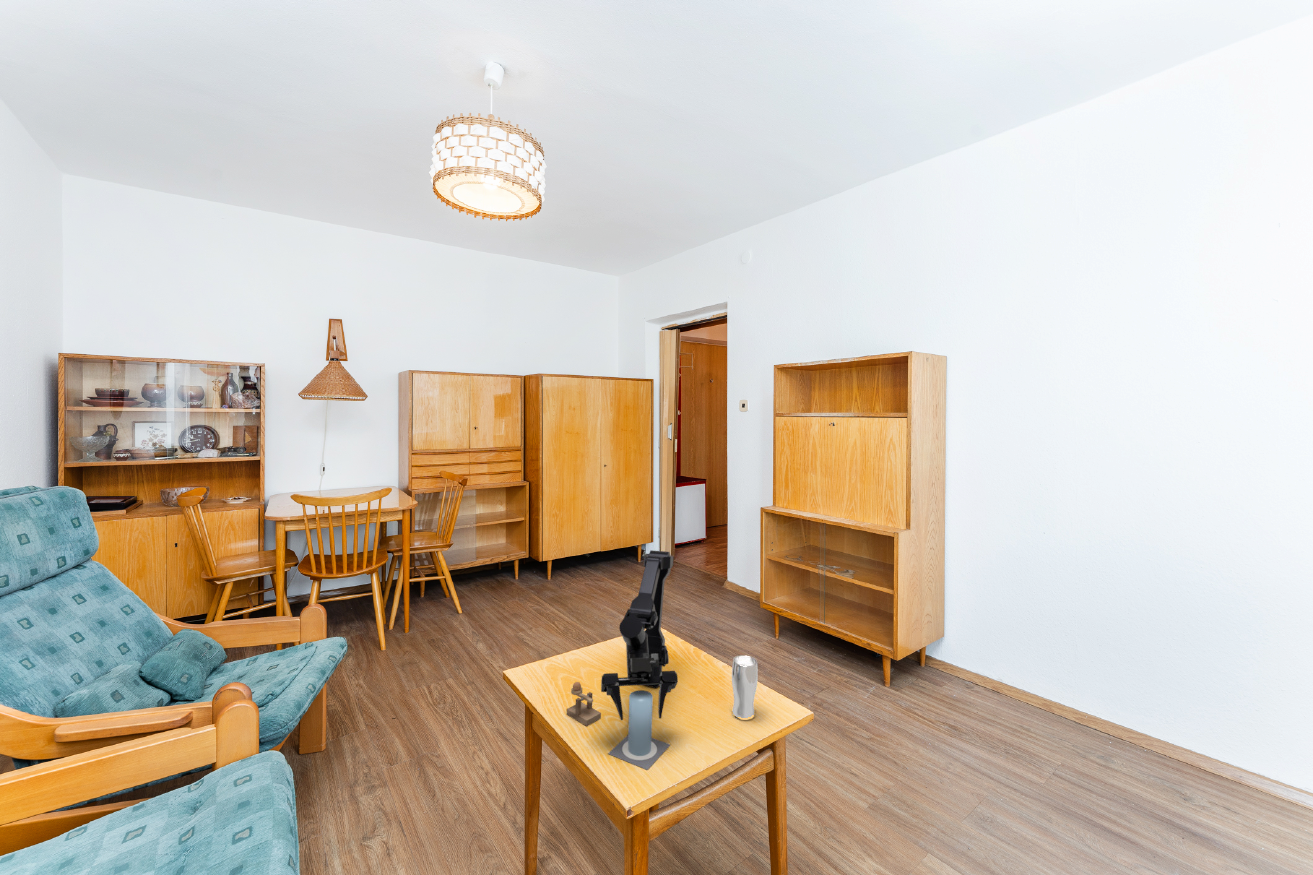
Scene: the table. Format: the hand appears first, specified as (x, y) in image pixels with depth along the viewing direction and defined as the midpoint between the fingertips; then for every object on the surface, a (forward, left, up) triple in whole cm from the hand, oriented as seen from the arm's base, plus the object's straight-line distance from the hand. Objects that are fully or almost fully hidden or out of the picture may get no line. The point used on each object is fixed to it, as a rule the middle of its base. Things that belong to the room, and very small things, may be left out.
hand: (641, 718), depth 127 cm
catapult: (-5, -21, -8) cm, 23 cm away
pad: (-1, -1, -8) cm, 8 cm away
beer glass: (-29, +15, -9) cm, 34 cm away
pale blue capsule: (-1, -1, -8) cm, 8 cm away
